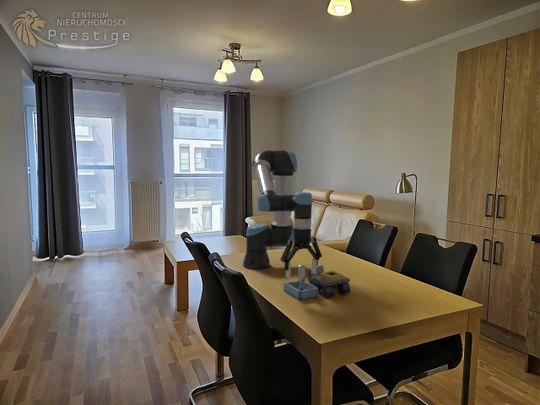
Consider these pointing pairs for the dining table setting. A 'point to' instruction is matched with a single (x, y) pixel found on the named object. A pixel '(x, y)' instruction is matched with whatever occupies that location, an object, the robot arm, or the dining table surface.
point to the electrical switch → (318, 272)
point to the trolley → (331, 283)
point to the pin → (301, 277)
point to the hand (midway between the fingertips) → (301, 275)
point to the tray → (305, 294)
